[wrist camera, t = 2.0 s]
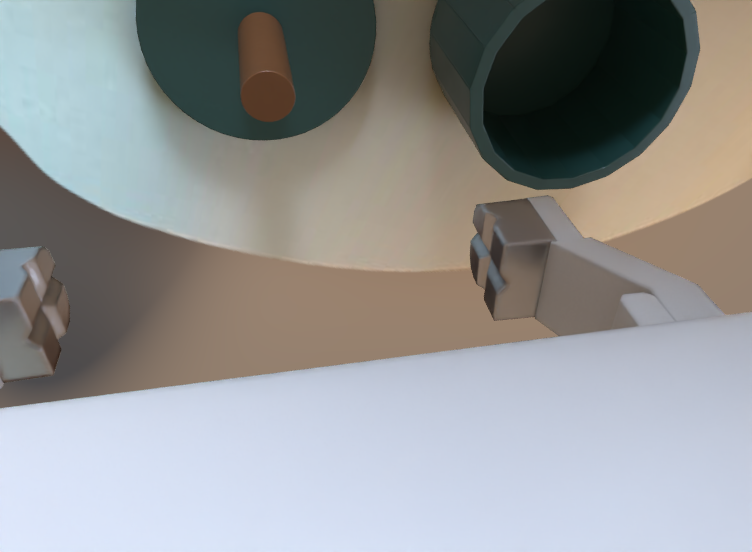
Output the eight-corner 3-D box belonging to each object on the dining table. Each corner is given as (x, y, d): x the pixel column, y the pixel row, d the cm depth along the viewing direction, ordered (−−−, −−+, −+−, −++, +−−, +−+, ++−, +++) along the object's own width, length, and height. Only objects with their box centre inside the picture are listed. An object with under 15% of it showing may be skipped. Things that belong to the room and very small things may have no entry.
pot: (442, -86, 38) (493, -44, 31) (650, -77, 40) (741, -36, 33) (417, 123, 47) (451, 193, 40) (589, 120, 49) (651, 185, 42)
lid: (116, -111, 34) (85, -65, 27) (381, -98, 37) (422, -54, 29) (157, 134, 44) (143, 220, 36) (365, 130, 46) (394, 209, 39)
